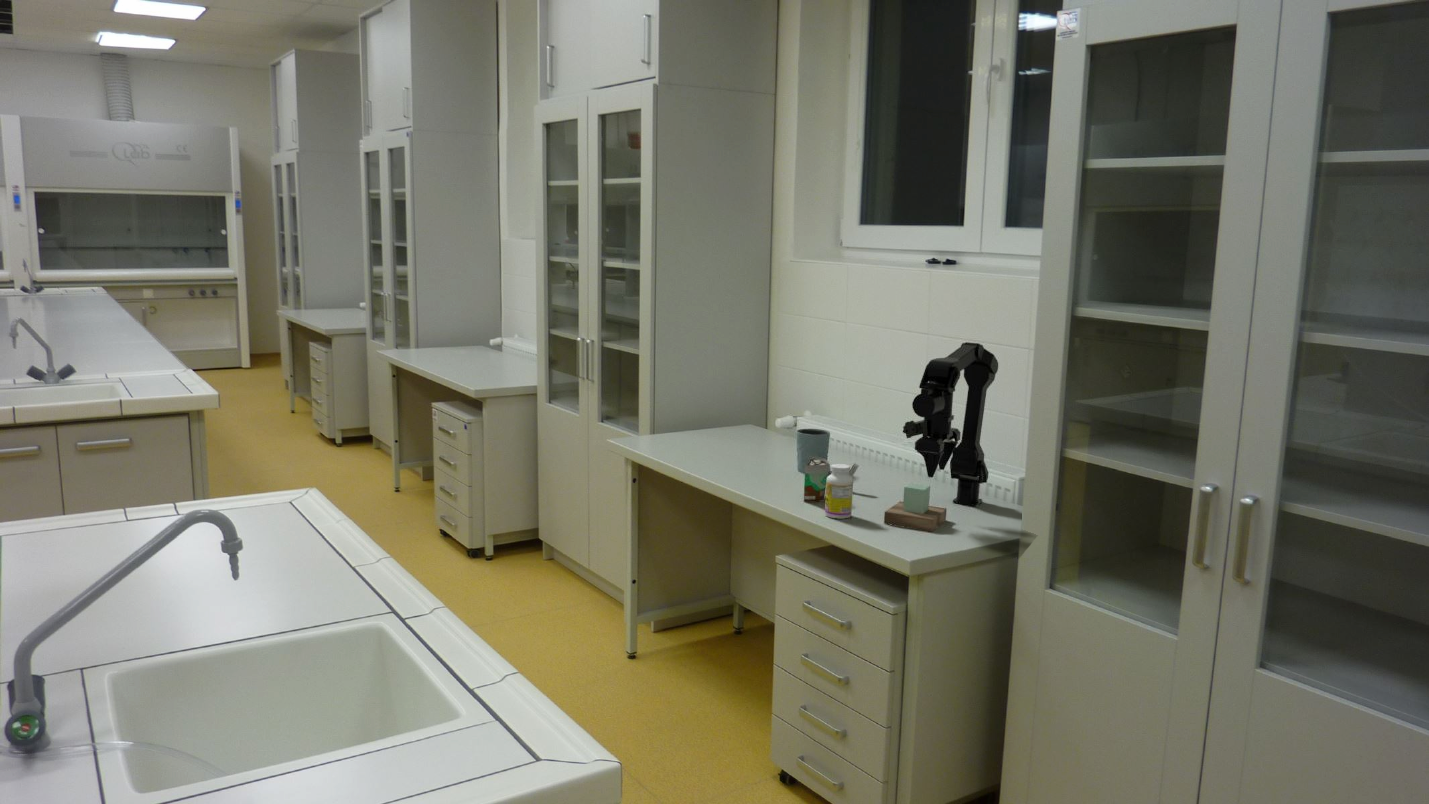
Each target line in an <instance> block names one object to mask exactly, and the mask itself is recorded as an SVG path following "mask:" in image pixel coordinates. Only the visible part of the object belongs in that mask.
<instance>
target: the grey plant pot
mask: <svg viewBox="0 0 1429 804" xmlns="http://www.w3.org/2000/svg"><path fill="white" fill-rule="evenodd" d="M795 434H796V435H795V438H796V453H797V454H796V462H797V465H796V466H797V467H796V469H797V471H798V472H799V473H801V474H805V465H806V466H807V465H808V462H809V461H810V457H817V458H822V459H825V460H827V461H828V457H829V456H828V454H829V447H830V437H831V432H830V431H829V430H826V429H820V428H819V429H818V428H799V429H796V431H795Z"/></svg>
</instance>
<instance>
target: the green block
mask: <svg viewBox="0 0 1429 804" xmlns="http://www.w3.org/2000/svg"><path fill="white" fill-rule="evenodd" d="M930 496H931V485H928V484H927V485H926V484H919V483H913V482H910V483H908V484H906V485H905V486H904V487H903V499H902V500H903V501H902V502H903V511H908V512H914V513H920V514H923V513H925V512H926V511H927V510H929V506H930Z"/></svg>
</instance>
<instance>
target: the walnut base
mask: <svg viewBox="0 0 1429 804" xmlns="http://www.w3.org/2000/svg"><path fill="white" fill-rule="evenodd" d="M947 510H948V509H947V508H944V507H939V506H932V505H929V510H927V511H926V512H925V513H923V514H920V513H914V512H908V511H903V501H901V500H899V501H898V502H897V503H895V504H893V506H891V507H889V508H888V509H886V510H885V511H884V517H883V524H884V523H885V524H884V525H889V524H892V525H891V526H895V525H896V526H895V527H901V526H904V527H903V528H907V527H908V528H907V529H913V528H915V530H918V531H925V532H926V531H927V532H933V531H935V530H936V529H937V528H939V526H941V525H942V524H943V523H945V521H947Z"/></svg>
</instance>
